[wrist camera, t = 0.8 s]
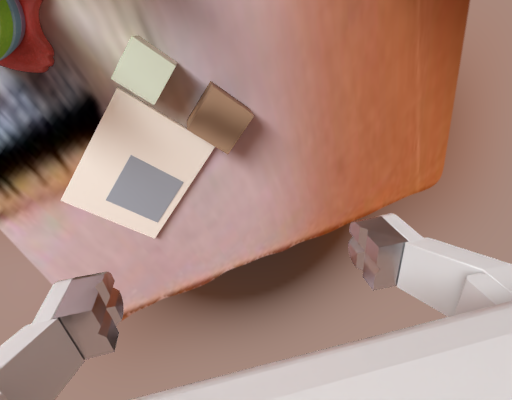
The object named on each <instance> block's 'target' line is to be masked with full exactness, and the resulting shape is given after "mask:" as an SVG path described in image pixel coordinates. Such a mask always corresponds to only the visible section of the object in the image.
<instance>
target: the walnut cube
mask: <svg viewBox="0 0 512 400" xmlns="http://www.w3.org/2000/svg"><path fill="white" fill-rule="evenodd" d="M253 117H254V114H253V113H252V112H251V111H250V109H249V108H248V107H247V106H245V105H244V104H243V103H241V102H240V101H238V100H237V99H235V98H234V97H233V96H231V95H230V94H228V93H227V92H226V91H224V90H223V89H221V88H220V87H218V86H217V85H216V84H214V83H213V82H211V81H210V83H209V85H208V86H207V88H206V90H205V91H204V93H203V95H202V96H201V98H200V100H199V101H198V103H197V105H196V106H195V108H194V109H193V111H192V113H191V114H190V116H189V118H188V119H187V130H188V131H190V132H191V133H193V134H195V135H196V136H198V137H200V138H201V139H203V140H205V141H206V142H208V143H210V144H211V145H213V146H215V147H216V148H218V149H220V150H221V151H223V152H225V153H226V154H229V152H230V151H231V149H232V148H233V147H234V145H235V144H236V142H237V141H238V139H239V138H240V136H241V135H242V133H243V132H244V130H245V129H246V127H247V126H248V124H249V123H250V121H251V120H252V119H253Z"/></svg>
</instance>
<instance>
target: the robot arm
mask: <svg viewBox="0 0 512 400" xmlns="http://www.w3.org/2000/svg"><path fill="white" fill-rule="evenodd" d="M349 232H350V233H351V235H352V236H353V237H352V238H351V240H350V241H349V243H348V247H349V248H348V250H349V255H350V258H351V260H352V262H353V264H354V265H355V267H356V268H358V269H360V270H362V271H363V278H364V279H365V280H366V282H367V283H368V284H369V286H370V287H371V288H372V290H377V289H383V288H387V287H392V286H397V287H398V288H400V289H401V290H403V291H405V292H407V293H409V294H410V295H412V296H413V297H415V298H417V299H419V300H420V301H422V302H424V303H425V304H427V305H429V306H431V307H432V308H434V309H436V310H438V311H439V312H441V313H443V314H445V315H446V316H448V317H446V318H443V319H439V320H435V321H431V322H427V323H423V324H419V325H415V326H412V327H408V328H404V329H400V330H396V331H392V332H388V333H385V334H381V335H377V336H373V337H369V338H365V339H361V340H358V341H353V342H350V343H346V344H342V345H338V346H334V347H330V348H326V349H323V350H319V351H315V352H311V353H307V354H303V355H300V356H296V357H291V358H288V359H284V360H280V361H276V362H272V363H268V364H264V365H260V366H257V367H253V368H249V369H245V370H241V371H237V372H233V373H230V374H226V375H222V376H218V377H214V378H210V379H206V380H203V381H199V382H195V383H191V384H187V385H183V386H179V387H175V388H171V389H168V390H164V391H160V392H156V393H153V394H149V395H145V396H141V397H137V398H133V399H129V400H512V264H509V263H506V262H503V261H500V260H497V259H494V258H491V257H487V256H484V255H481V254H478V253H475V252H472V251H469V250H466V249H463V248H459V247H456V246H453V245H450V244H447V243H444V242H441V241H438V240H435V239H431V238H423V237H422V236H421V235H419V234H418V233H417V232H416V231H415V230H414V229H412V228H411V227H410V226H409V225H407V224H406V223H405V222H404V221H403V220H402V219H400V218H399V217H398V216H397V215H395V214H393V213H389V214H386V215H381V216H378V217H374V218H369V219H364V220H359V221H355V222H351V224H350V230H349ZM113 284H114V279H113V277H112V275H111V273H109V272H103V273H97V274H92V275H86V276H81V277H75V278H71V279H66V280H60V281H57V282H56V283H54V284H53V286H52V288H51V289H50V291H49V293H48V295H47V297H46V299H45V301H44V302H43V304H42V306H41V308H40V309H39V311H38V313H37V315H36V317H35V319H34V321H33V322H32V324H30V325H26V326H24V327H23V328H22V329H21V330H19V331H18V332H17V333H16V334H14V335H13V336H12V337H11V338H10V339H8V340H7V341H6V342H5V343H3V344H2V345H1V346H0V400H55V399H56V398H57V397H58V395H59V394H60V393H61V391H62V390H63V389H64V387H65V386H66V385H67V384H68V382H69V381H70V380H71V378H72V377H73V376H74V375H75V373H76V372H77V371H78V369H79V368H80V366H82V364H83V363H84V360H85V359H89V358H93V357H97V356H101V355H104V354H108V353H112V352H114V351H115V347H116V343H117V338H118V334H119V332H118V330H117V328H116V326H117V325H118V324H119V323H120V322H121V321H122V317H123V300H122V296H121V294H120V292H119V291H118V290H117V289H115V288H113Z"/></svg>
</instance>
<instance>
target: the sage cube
mask: <svg viewBox="0 0 512 400" xmlns="http://www.w3.org/2000/svg"><path fill="white" fill-rule="evenodd" d="M176 65H177V62H176V61H174V60H173V59H171V58H170V57H169V56H167V55H166V54H164V53H163V52H161V51H160V50H159V49H157V48H156V47H154V46H153V45H151V44H150V43H149V42H147V41H146V40H144V39H143V38H141V37H140V36H131V38H130V40H129V42H128V44H127V46H126V48H125V50H124V52H123V55H122V57H121V59H120V61H119V63H118V65H117V67H116V69H115V71H114V73H113V75H112V77H111V79H112V80H113V81H115V82H117V83H118V84H120V85H122V86H123V87H125V88H127V89H128V90H130V91H132V92H133V93H135V94H136V95H138V96H140V97H141V98H143V99H145V100H146V101H148V102H150V103H151V104H153V105H155V103H156V101H157V99H158V98H159V96H160V94H161V92H162V90H163V89H164V87H165V85H166V83H167V81H168V80H169V78H170V76H171V74H172V72H173V71H174V69H175V67H176Z"/></svg>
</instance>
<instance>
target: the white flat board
mask: <svg viewBox="0 0 512 400" xmlns="http://www.w3.org/2000/svg"><path fill="white" fill-rule="evenodd" d="M214 148H215V146H213V145H211V144H210V143H208V142H206V141H205V140H203V139H201V138H200V137H198V136H196V135H195V134H193V133H191V132H190V131H188V130H187V128H186V127H184V126H182V125H181V124H179V123H177V122H176V121H174V120H172V119H171V118H169V117H168V116H166V115H164V114H163V113H161V112H159V111H158V110H156V109H154V108H153V107H151V106H149V105H148V104H146V103H144V102H143V101H141V100H139V99H138V98H136V97H134V96H133V95H131V94H129V93H128V92H126V91H124V90H123V89H121V88H119V87H117V89H116V91H115V93H114V95H113V97H112V99H111V101H110V103H109V105H108V107H107V109H106V111H105V113H104V115H103V117H102V119H101V121H100V123H99V125H98V127H97V129H96V131H95V133H94V135H93V137H92V139H91V141H90V143H89V145H88V147H87V149H86V151H85V153H84V155H83V157H82V159H81V161H80V163H79V165H78V167H77V169H76V171H75V173H74V175H73V177H72V179H71V181H70V183H69V185H68V187H67V189H66V191H65V193H64V195H63V197H62V199H61V201H63V202H65V203H68V204H70V205H73V206H75V207H77V208H80V209H82V210H85V211H87V212H90V213H92V214H95V215H97V216H100V217H102V218H105V219H107V220H110V221H112V222H114V223H117V224H119V225H122V226H124V227H127V228H129V229H132V230H134V231H137V232H139V233H142V234H144V235H146V236H149V237H151V238H154V239H155V238H156V236H157V234H158V233H159V231H160V230H161V228H162V227H163V225H164V224H165V222H166V221H167V219H168V218H169V216H170V215H171V213H172V212H173V210H174V209H175V207H176V206H177V204H178V203H179V201H180V199H181V198H182V196H183V195H184V193H185V192H186V190H187V189H188V187H189V186H190V184H191V183H192V181H193V180H194V178H195V177H196V175H197V174H198V172H199V171H200V169H201V167H202V166H203V164H204V163H205V161H206V160H207V158H208V157H209V155H210V154H211V152H212V151H213V149H214Z"/></svg>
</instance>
